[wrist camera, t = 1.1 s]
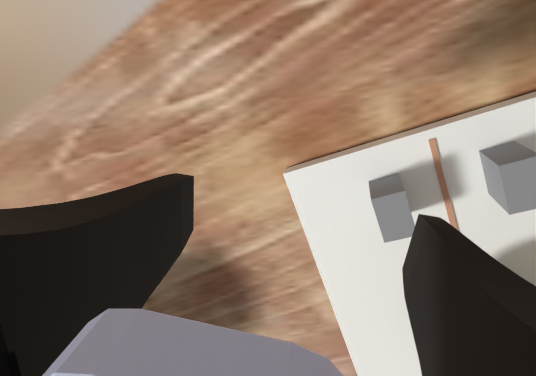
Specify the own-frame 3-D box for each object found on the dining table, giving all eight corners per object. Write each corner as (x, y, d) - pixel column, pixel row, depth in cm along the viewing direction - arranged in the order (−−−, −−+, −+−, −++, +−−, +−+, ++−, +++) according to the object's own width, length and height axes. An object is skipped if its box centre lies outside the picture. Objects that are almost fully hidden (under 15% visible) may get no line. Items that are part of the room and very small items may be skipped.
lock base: (681, 364, 22) (753, 433, 18) (370, 397, 27) (373, 454, 23) (651, 55, 17) (738, 55, 13) (286, 168, 23) (273, 191, 19)
